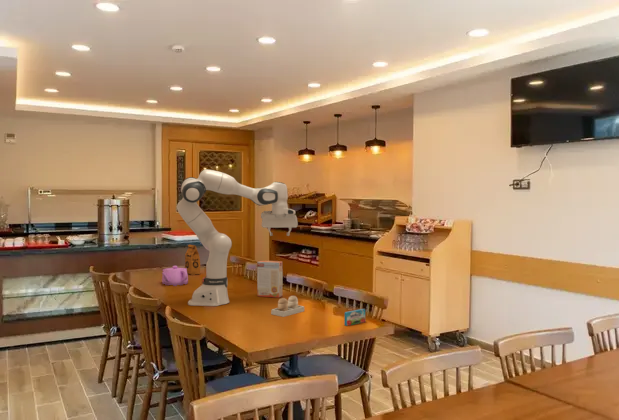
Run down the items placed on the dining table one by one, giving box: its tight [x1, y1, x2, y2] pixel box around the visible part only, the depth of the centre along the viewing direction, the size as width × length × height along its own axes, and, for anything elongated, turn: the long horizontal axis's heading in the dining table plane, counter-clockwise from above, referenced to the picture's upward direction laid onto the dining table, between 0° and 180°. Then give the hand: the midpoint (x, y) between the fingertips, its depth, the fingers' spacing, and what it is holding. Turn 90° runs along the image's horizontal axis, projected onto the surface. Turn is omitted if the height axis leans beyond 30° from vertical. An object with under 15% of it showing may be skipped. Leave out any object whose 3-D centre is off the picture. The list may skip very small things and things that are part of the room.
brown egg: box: [277, 297, 288, 312], centre depth 254 cm, size 5×5×8 cm
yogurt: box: [344, 308, 366, 327], centre depth 238 cm, size 12×2×6 cm, turn 129°
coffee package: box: [184, 244, 201, 276], centre depth 384 cm, size 10×12×22 cm
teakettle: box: [161, 265, 189, 287], centre depth 341 cm, size 17×17×12 cm
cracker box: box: [256, 260, 284, 299], centre depth 301 cm, size 14×6×21 cm, turn 71°
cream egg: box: [287, 295, 299, 309], centre depth 260 cm, size 5×5×8 cm
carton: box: [270, 304, 305, 318], centre depth 257 cm, size 16×8×3 cm, turn 141°
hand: (279, 235), depth 285 cm, fingers open, 8 cm apart
